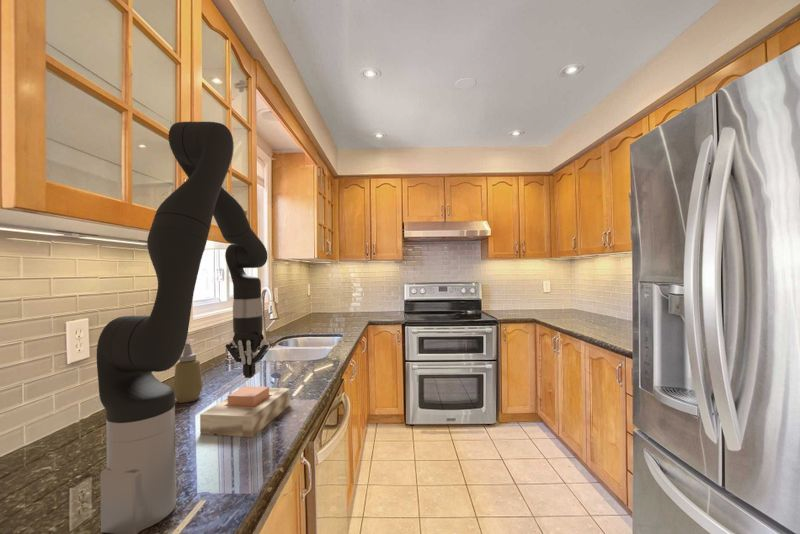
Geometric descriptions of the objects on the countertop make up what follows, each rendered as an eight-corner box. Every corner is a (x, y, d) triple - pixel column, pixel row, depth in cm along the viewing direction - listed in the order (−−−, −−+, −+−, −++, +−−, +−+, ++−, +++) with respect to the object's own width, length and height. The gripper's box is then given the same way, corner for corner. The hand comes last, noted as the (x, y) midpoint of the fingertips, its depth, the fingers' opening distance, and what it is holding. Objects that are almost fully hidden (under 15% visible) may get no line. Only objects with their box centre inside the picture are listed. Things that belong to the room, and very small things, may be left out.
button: (254, 411, 90) (253, 396, 90) (227, 410, 92) (227, 395, 92) (269, 400, 98) (268, 386, 98) (244, 399, 99) (244, 386, 99)
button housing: (252, 437, 84) (251, 416, 84) (200, 434, 86) (200, 414, 86) (289, 405, 104) (289, 388, 104) (247, 403, 106) (246, 387, 106)
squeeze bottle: (189, 405, 105) (188, 346, 105) (166, 403, 106) (166, 345, 107) (208, 395, 113) (208, 341, 113) (187, 394, 114) (187, 340, 115)
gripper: (277, 312, 98) (278, 373, 98) (234, 312, 100) (235, 372, 100) (262, 316, 90) (264, 382, 90) (217, 316, 92) (218, 381, 92)
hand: (249, 377), depth 95 cm, fingers closed
